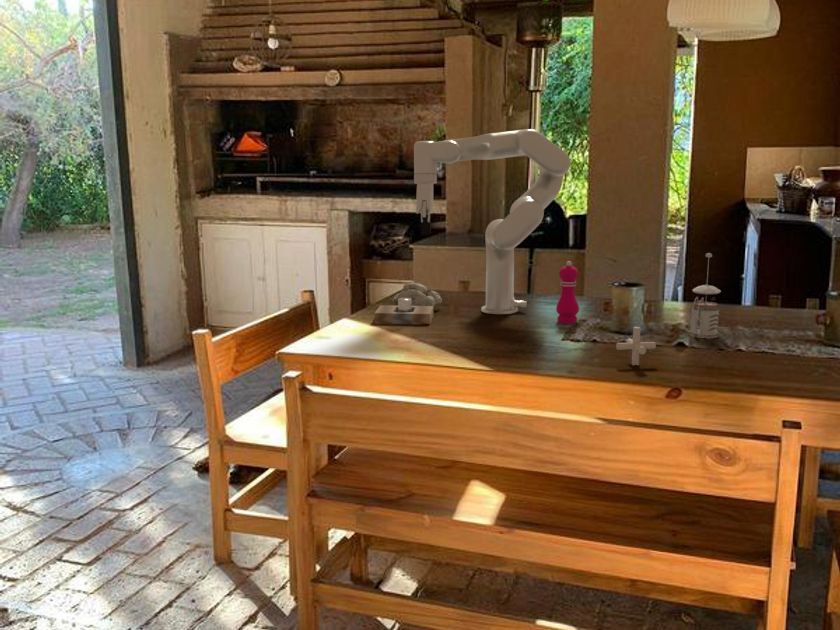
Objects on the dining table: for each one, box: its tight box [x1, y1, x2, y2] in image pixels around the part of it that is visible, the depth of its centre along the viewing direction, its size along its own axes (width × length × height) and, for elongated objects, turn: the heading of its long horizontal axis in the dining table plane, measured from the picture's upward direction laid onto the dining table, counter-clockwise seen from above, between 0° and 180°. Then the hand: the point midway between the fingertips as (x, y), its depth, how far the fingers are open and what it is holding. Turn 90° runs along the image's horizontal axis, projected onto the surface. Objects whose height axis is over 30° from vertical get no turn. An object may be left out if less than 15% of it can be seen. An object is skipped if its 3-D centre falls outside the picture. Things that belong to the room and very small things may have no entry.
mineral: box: [392, 282, 443, 306], centre depth 291 cm, size 12×17×10 cm
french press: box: [689, 252, 722, 335], centre depth 247 cm, size 10×12×25 cm
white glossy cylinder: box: [398, 298, 412, 312], centre depth 273 cm, size 4×4×7 cm
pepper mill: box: [555, 260, 580, 325], centre depth 267 cm, size 7×7×20 cm
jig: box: [374, 304, 435, 325], centre depth 273 cm, size 18×13×4 cm
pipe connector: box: [615, 326, 657, 366], centre depth 217 cm, size 10×10×10 cm
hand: (425, 234), depth 279 cm, fingers closed
